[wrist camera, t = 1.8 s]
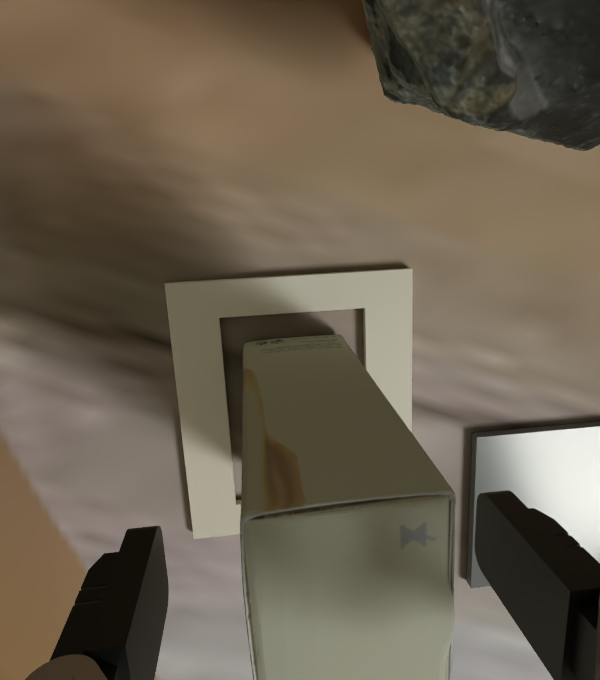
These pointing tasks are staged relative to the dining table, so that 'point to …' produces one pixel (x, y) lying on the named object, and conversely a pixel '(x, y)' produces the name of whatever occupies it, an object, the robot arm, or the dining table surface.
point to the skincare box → (339, 523)
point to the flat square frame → (209, 376)
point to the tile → (540, 479)
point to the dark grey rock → (495, 63)
